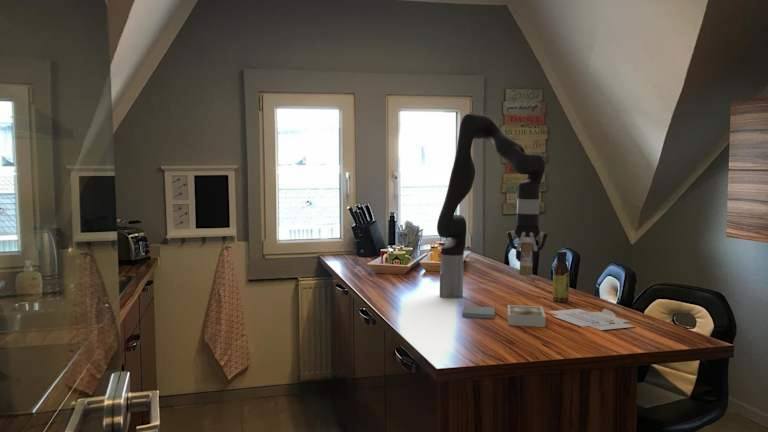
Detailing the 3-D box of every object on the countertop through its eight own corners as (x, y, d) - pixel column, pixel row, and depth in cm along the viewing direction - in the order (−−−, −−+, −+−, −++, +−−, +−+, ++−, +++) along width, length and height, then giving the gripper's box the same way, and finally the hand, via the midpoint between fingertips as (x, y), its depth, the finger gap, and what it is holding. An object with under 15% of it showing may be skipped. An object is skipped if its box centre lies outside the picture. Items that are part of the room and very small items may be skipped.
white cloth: (593, 333, 193) (593, 322, 193) (540, 317, 219) (540, 307, 219) (643, 328, 200) (643, 317, 200) (586, 313, 226) (586, 303, 226)
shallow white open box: (507, 324, 201) (508, 314, 201) (507, 314, 215) (507, 304, 215) (545, 327, 199) (545, 316, 198) (541, 316, 213) (542, 306, 213)
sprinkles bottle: (516, 275, 209) (517, 236, 208) (523, 273, 213) (524, 235, 212) (528, 276, 206) (530, 237, 205) (535, 275, 210) (536, 236, 209)
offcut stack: (510, 325, 201) (510, 310, 201) (510, 321, 206) (510, 307, 206) (538, 326, 200) (538, 312, 199) (537, 323, 205) (537, 308, 204)
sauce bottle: (569, 303, 236) (571, 252, 234) (552, 302, 237) (554, 252, 236) (567, 299, 242) (569, 250, 241) (551, 298, 243) (553, 249, 242)
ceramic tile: (462, 316, 211) (462, 312, 211) (464, 309, 222) (464, 305, 222) (494, 318, 209) (494, 314, 209) (494, 311, 220) (494, 307, 220)
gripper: (506, 212, 205) (505, 262, 207) (550, 213, 203) (548, 264, 204) (506, 211, 213) (505, 259, 214) (548, 212, 210) (546, 260, 212)
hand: (526, 261), depth 209 cm, fingers closed on sprinkles bottle, 4 cm apart
